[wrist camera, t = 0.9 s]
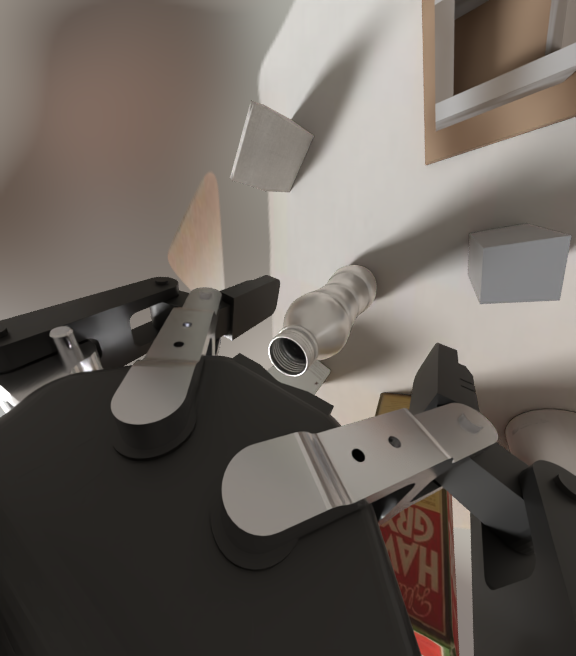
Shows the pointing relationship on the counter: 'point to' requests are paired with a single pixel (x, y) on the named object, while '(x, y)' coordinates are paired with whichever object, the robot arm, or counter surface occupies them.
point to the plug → (517, 264)
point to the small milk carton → (270, 150)
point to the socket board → (495, 71)
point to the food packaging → (424, 561)
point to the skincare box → (304, 377)
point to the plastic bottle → (322, 320)
